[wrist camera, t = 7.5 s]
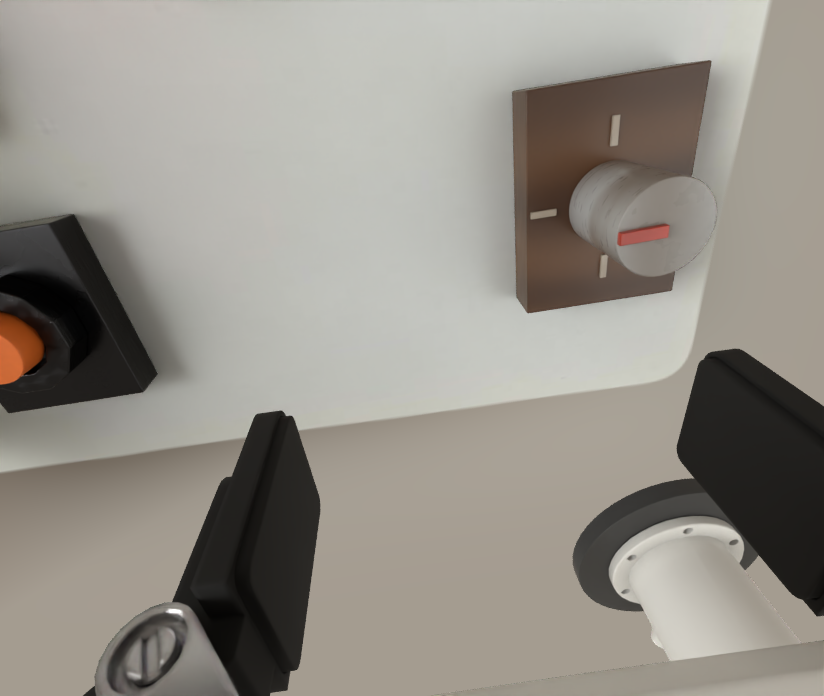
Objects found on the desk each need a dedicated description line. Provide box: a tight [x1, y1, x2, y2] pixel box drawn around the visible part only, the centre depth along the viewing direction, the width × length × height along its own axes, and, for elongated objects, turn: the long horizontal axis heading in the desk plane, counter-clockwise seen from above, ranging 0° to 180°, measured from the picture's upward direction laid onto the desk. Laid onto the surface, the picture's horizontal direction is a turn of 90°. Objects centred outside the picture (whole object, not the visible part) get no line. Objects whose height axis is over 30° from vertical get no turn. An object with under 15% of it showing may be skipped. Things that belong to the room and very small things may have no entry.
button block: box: [0, 214, 158, 413], centre depth 26 cm, size 11×9×4 cm
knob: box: [569, 160, 717, 277], centre depth 21 cm, size 4×4×6 cm
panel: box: [512, 60, 711, 313], centre depth 25 cm, size 12×9×3 cm
